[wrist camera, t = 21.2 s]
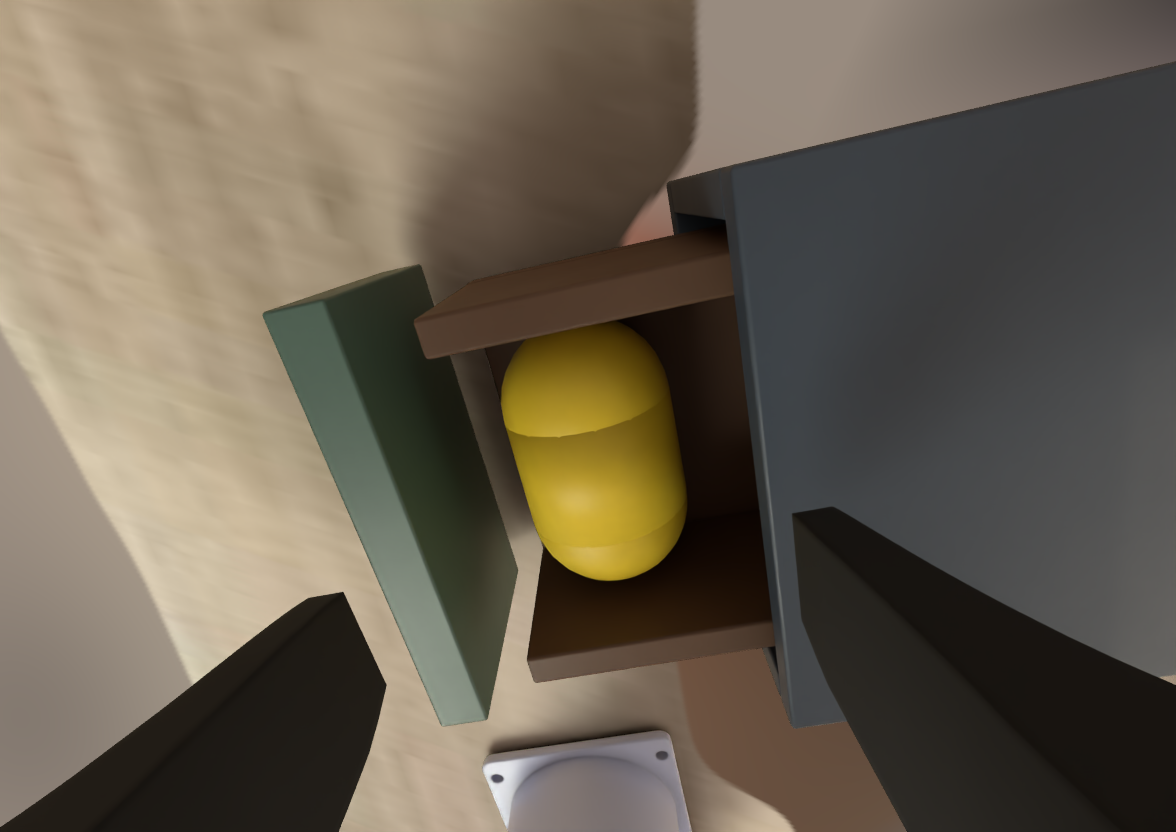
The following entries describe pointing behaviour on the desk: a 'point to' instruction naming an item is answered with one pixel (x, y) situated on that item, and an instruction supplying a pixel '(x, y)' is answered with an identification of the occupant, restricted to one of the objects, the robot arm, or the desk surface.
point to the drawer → (462, 487)
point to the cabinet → (969, 356)
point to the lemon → (596, 448)
